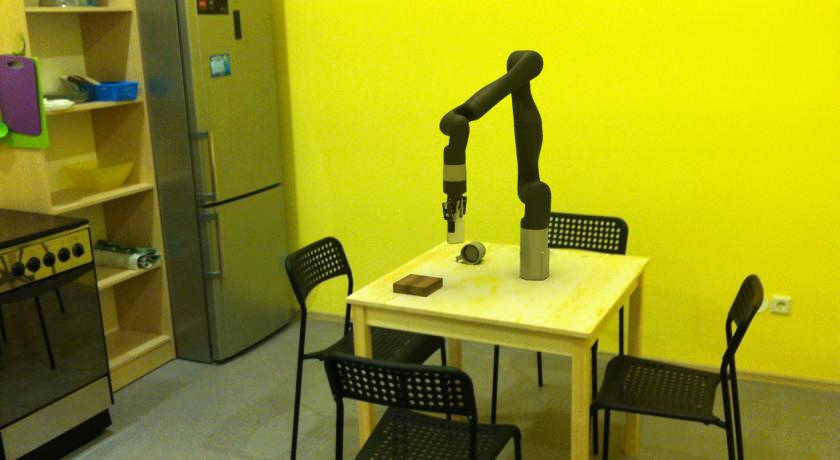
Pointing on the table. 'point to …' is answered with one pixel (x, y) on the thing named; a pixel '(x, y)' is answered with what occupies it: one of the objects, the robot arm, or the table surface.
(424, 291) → the walnut plinth
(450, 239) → the squeeze bottle
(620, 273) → the table surface
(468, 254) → the ceramic mug
